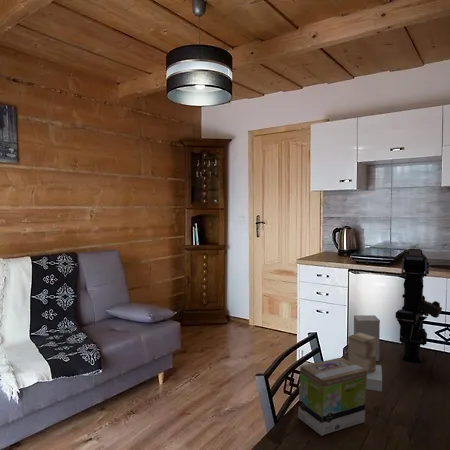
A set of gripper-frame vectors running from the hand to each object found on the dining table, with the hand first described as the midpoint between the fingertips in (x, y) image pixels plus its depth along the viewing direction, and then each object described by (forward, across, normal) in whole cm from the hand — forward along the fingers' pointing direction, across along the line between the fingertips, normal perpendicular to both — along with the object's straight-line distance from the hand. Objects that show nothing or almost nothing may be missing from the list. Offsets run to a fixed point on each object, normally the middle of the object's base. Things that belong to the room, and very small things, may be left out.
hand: (411, 338), depth 134 cm
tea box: (+18, -41, +10) cm, 46 cm away
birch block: (+10, -13, +12) cm, 20 cm away
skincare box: (+12, +6, +17) cm, 22 cm away
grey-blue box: (+14, -13, +12) cm, 22 cm away
